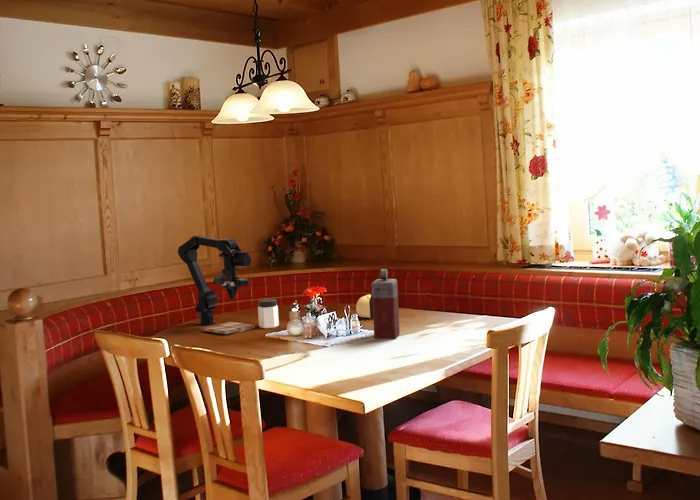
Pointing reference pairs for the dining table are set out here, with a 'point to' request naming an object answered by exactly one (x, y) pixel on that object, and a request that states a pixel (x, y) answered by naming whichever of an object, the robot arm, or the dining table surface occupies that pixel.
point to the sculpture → (363, 306)
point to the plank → (220, 329)
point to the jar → (268, 313)
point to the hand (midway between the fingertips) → (232, 300)
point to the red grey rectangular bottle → (385, 307)
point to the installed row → (238, 326)
